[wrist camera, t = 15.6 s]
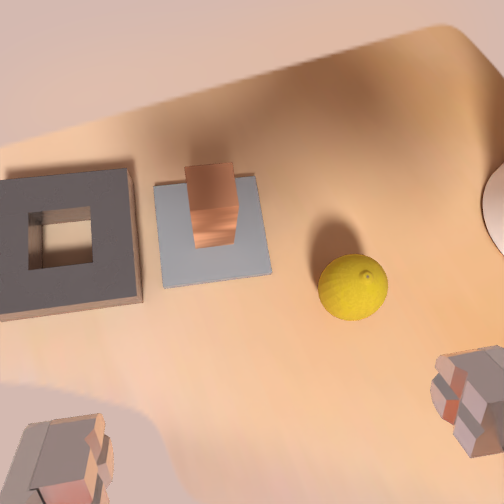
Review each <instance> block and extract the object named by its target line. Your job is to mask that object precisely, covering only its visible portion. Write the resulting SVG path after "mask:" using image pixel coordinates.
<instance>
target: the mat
mask: <svg viewBox="0 0 504 504" xmlns="http://www.w3.org/2000/svg"><path fill="white" fill-rule="evenodd" d="M235 183H236V189H237V195H238V202H239V210H238V217H237V225H236V232H235V239H234V244H231V245H222V246H214V247H206V248H198V249H195V242H194V235H193V229H192V222H191V215H190V208H189V199H188V191H187V183H181V184H172V185H162V186H153V188H154V198H155V208H156V219H157V229H158V239H159V249H160V259H161V269H162V279H163V287H164V289H166V288H174V287H181V286H189V285H196V284H203V283H211V282H218V281H226V280H233V279H241V278H248V277H256V276H263V275H271V273H272V269H271V263H270V258H269V252H268V246H267V241H266V235H265V229H264V224H263V218H262V212H261V207H260V201H259V195H258V190H257V184H256V178H255V176H250V177H240V178H235Z"/></svg>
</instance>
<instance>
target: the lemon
mask: <svg viewBox="0 0 504 504" xmlns="http://www.w3.org/2000/svg"><path fill="white" fill-rule="evenodd" d="M387 291H388V280H387V276H386V273H385V271H384V270H383V268H382V267H381V266H380V265H379V263H378V262H377V261H375V260H374V259H372V258H370V257H368V256H365V255H361V254H349V255H344V256H341V257H339V258H337V259H335V260H333V261H332V262H331V263H330V264H328V265H327V266H326V268H325V269H324V271H323V272H322V274H321V276H320V279H319V283H318V293H319V298H320V301H321V303H322V305H323V306H324V307H325V309H326V310H327V311H328V312H329V313H330V314H332V315H333V316H335V317H337V318H339V319H343V320H347V321H354V320H360V319H364V318H367V317H368V316H370V315H372V314H373V313H375V312H376V311H377V310H378V309H379V308H380V306H381V305H382V304H383V302H384V300H385V298H386V295H387Z"/></svg>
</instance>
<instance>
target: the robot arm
mask: <svg viewBox="0 0 504 504" xmlns="http://www.w3.org/2000/svg"><path fill="white" fill-rule="evenodd" d="M483 214H484V219H485V223H486V226H487V229H488V231H489V233H490V236H491V238H492V239H493V241H494V243H495V244H496V246H497V247H498V249H499V250H500V251H501V253H502V254H503V255H504V163H503V164H502V165H501V166H500V167H499V168H498V169H497V170H496V171H495V172H494V173H493V174H492V176H491V177H490V179H489V180H488V182H487V184H486V187H485V190H484V195H483ZM435 368H436V369H437V371H438V372H439V373H438V374H437V376H436V377H435V378H434V379H433V380H432V383H431V390H430V391H431V396H432V401H433V404H434V406H435V408H436V410H437V412H438V413H439V415H440V416H441V418H442V419H444V420H446V421H447V422H449V423H451V424H452V425H453V435H454V436H455V437H456V439H457V440H458V442H459V443H460V444H461V446H462V447H463V449H464V450H465V451H466V453H467V454H468V456H469V457H470V458H474V457H480V456H486V455H492V454H497V453H503V452H504V348H502V347H500V346H498V345H495V346H490V347H484V348H478V349H472V350H466V351H461V352H455V353H450V354H444V355H440V356H439V357H438V359H437V360H436V364H435ZM104 430H105V421H104V419H103V416H102V414H100V413H97V414H91V415H84V416H77V417H71V418H63V419H56V420H51V421H45V422H38V423H31V424H29V425H28V426H27V427H26V428H25V430H24V431H23V434H22V436H21V439H20V442H19V444H18V447H17V450H16V453H15V455H14V458H13V461H12V463H11V466H10V469H9V471H8V474H7V477H6V479H5V482H4V485H3V487H2V490H1V493H0V504H109V498H108V495H107V492H106V489H107V487H108V486H109V485H110V483H111V482H112V478H113V470H114V469H113V468H114V459H113V458H114V457H113V448H112V443H111V440H110V437H108V436H107V435H105V434H104Z"/></svg>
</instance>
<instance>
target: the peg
mask: <svg viewBox="0 0 504 504" xmlns="http://www.w3.org/2000/svg"><path fill="white" fill-rule="evenodd" d="M185 175H186V183H187V191H188V199H189V208H190V215H191V222H192V229H193V235H194V242H195V249H198V248H206V247H214V246H222V245H231V244H234V239H235V232H236V225H237V217H238V210H239V202H238V195H237V189H236V183H235V177H234V171H233V164H232V162H229V163H219V164H209V165H199V166H189V167H185Z"/></svg>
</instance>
